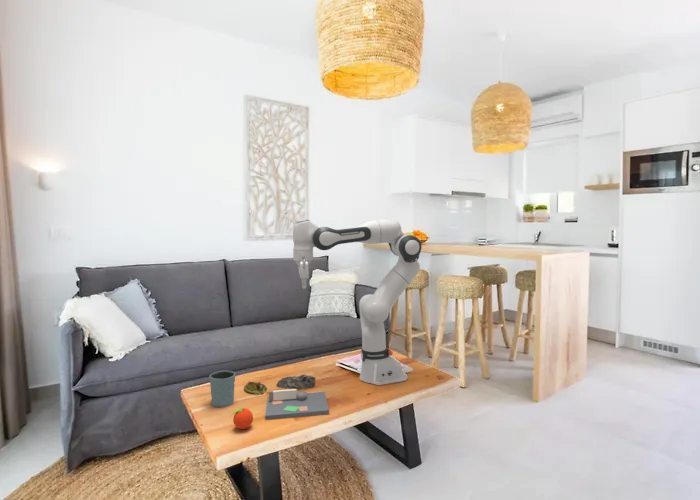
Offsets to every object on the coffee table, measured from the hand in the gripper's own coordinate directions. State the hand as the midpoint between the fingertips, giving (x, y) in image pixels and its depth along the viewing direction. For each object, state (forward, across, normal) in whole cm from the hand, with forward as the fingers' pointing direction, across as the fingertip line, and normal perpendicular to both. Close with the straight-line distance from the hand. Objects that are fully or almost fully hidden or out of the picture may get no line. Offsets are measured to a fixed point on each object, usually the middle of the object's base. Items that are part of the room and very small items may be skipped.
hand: (303, 286), depth 184 cm
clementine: (+46, -37, +24) cm, 63 cm away
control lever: (+43, -19, +8) cm, 48 cm away
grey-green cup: (+46, -13, +34) cm, 59 cm away
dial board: (+45, -22, +4) cm, 51 cm away
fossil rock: (+46, +2, +4) cm, 46 cm away
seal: (+46, -1, +23) cm, 51 cm away
